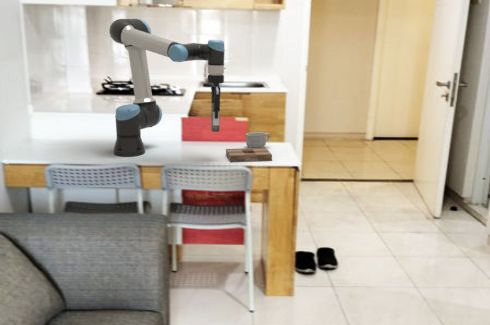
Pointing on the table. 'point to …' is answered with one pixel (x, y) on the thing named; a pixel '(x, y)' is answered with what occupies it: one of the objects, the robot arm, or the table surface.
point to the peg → (213, 127)
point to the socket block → (248, 154)
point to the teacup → (256, 139)
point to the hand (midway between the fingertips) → (215, 124)
